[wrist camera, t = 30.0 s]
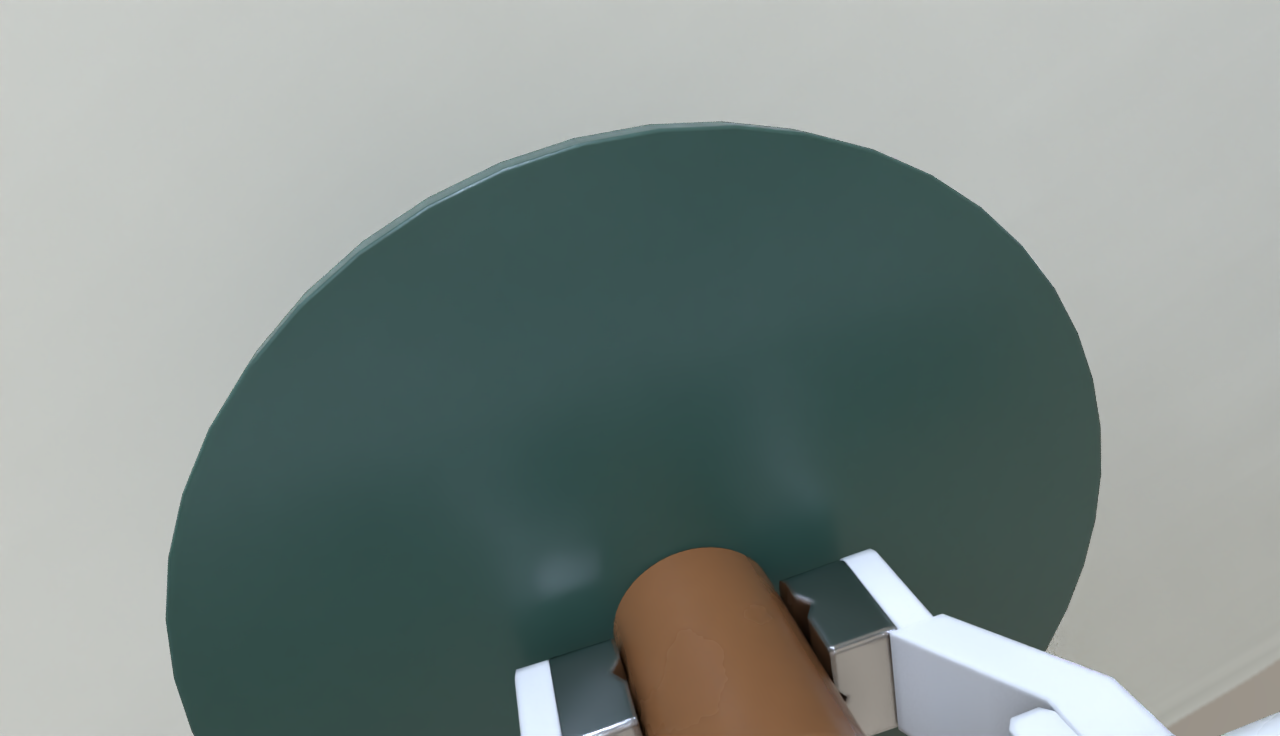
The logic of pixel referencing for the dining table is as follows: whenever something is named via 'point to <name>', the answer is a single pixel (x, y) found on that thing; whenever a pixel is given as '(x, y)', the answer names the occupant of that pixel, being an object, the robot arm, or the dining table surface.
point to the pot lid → (631, 443)
